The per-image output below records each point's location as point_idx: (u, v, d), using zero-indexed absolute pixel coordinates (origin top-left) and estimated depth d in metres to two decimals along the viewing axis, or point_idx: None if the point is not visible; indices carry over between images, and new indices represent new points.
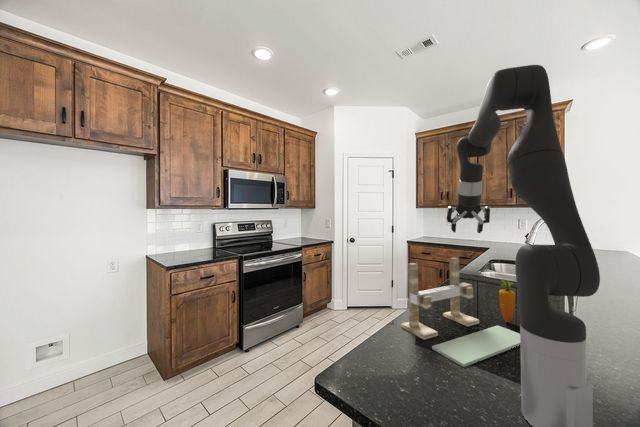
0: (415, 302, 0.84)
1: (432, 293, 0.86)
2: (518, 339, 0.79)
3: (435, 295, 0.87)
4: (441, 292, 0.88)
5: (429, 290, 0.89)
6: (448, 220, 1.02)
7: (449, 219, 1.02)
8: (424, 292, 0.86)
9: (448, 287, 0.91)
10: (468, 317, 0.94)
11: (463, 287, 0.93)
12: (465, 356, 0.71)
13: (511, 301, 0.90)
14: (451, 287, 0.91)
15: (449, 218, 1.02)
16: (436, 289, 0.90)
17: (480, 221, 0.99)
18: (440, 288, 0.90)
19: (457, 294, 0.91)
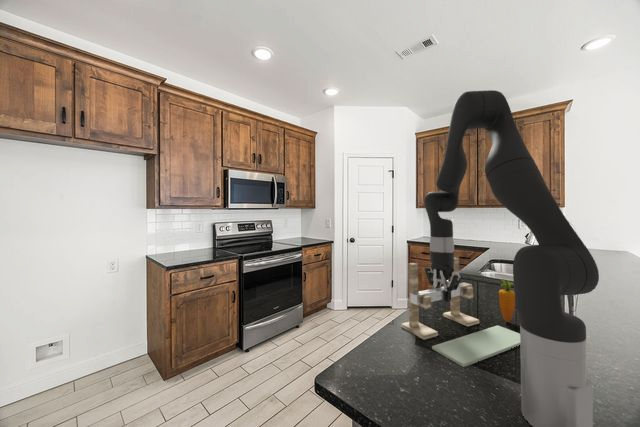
0: (415, 302, 0.84)
1: (432, 293, 0.86)
2: (518, 339, 0.79)
3: (435, 295, 0.87)
4: (441, 292, 0.88)
5: (429, 290, 0.89)
6: (429, 282, 0.94)
7: (430, 281, 0.93)
8: (424, 292, 0.86)
9: None
10: (468, 317, 0.94)
11: (463, 287, 0.93)
12: (465, 356, 0.71)
13: (511, 301, 0.90)
14: None
15: (429, 279, 0.94)
16: (436, 289, 0.90)
17: (444, 287, 0.88)
18: (440, 288, 0.90)
19: (457, 294, 0.91)
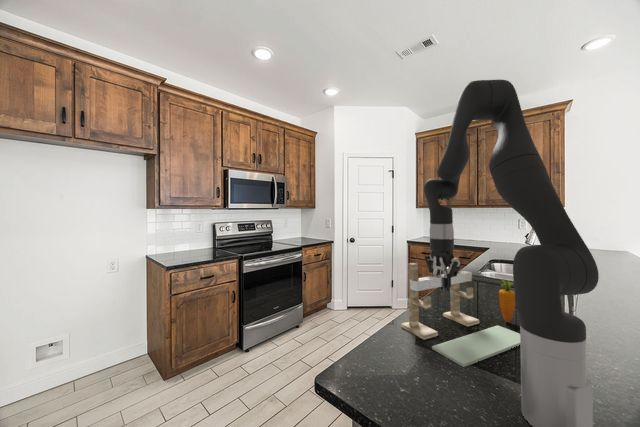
0: (415, 288, 0.84)
1: (432, 280, 0.86)
2: (518, 339, 0.79)
3: (435, 281, 0.87)
4: (441, 279, 0.88)
5: (429, 277, 0.89)
6: (429, 270, 0.94)
7: (430, 269, 0.93)
8: (423, 279, 0.86)
9: None
10: (468, 317, 0.94)
11: (463, 275, 0.92)
12: (465, 356, 0.71)
13: (511, 301, 0.90)
14: None
15: (429, 267, 0.94)
16: (436, 276, 0.89)
17: None
18: (440, 275, 0.90)
19: (457, 281, 0.91)
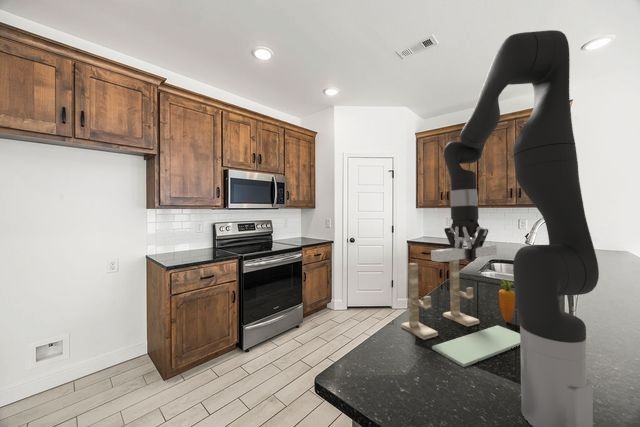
0: (437, 259, 0.76)
1: (456, 250, 0.78)
2: (518, 339, 0.79)
3: (458, 253, 0.78)
4: (465, 250, 0.80)
5: (451, 248, 0.80)
6: (450, 243, 0.85)
7: (451, 241, 0.85)
8: (446, 250, 0.78)
9: None
10: (468, 317, 0.94)
11: (487, 247, 0.84)
12: (465, 356, 0.71)
13: (511, 301, 0.90)
14: None
15: (450, 240, 0.85)
16: (459, 248, 0.81)
17: None
18: (463, 247, 0.82)
19: (481, 254, 0.83)
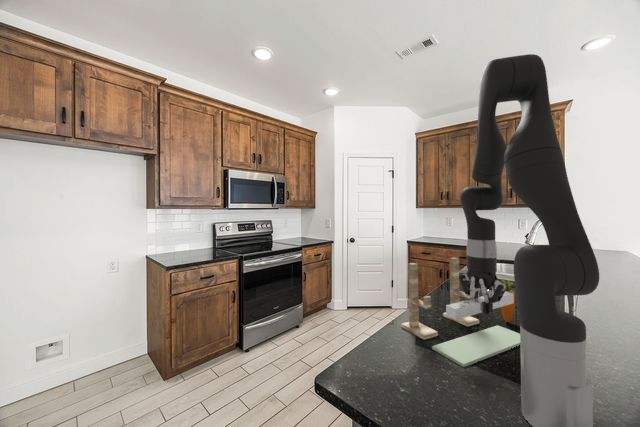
0: (453, 316, 0.72)
1: (472, 305, 0.74)
2: (518, 339, 0.79)
3: (475, 307, 0.74)
4: (481, 303, 0.76)
5: (467, 301, 0.76)
6: (465, 291, 0.81)
7: (466, 290, 0.81)
8: (462, 305, 0.74)
9: None
10: (468, 317, 0.94)
11: (504, 297, 0.80)
12: (465, 356, 0.71)
13: None
14: None
15: (465, 288, 0.81)
16: (475, 300, 0.77)
17: (484, 298, 0.76)
18: (479, 299, 0.78)
19: (498, 305, 0.79)
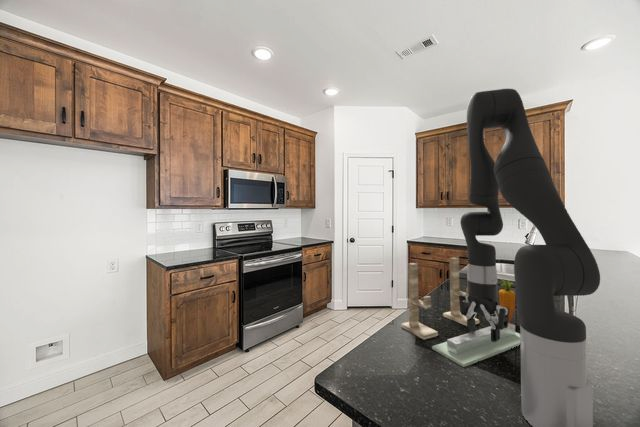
0: (454, 351, 0.72)
1: (473, 340, 0.74)
2: (518, 339, 0.79)
3: (476, 341, 0.74)
4: (483, 337, 0.75)
5: (468, 335, 0.76)
6: (461, 312, 0.83)
7: (462, 311, 0.82)
8: (463, 339, 0.73)
9: (489, 330, 0.79)
10: None
11: (506, 329, 0.80)
12: (465, 356, 0.71)
13: (511, 301, 0.90)
14: None
15: (462, 309, 0.82)
16: (476, 333, 0.77)
17: (491, 324, 0.74)
18: (480, 331, 0.78)
19: None
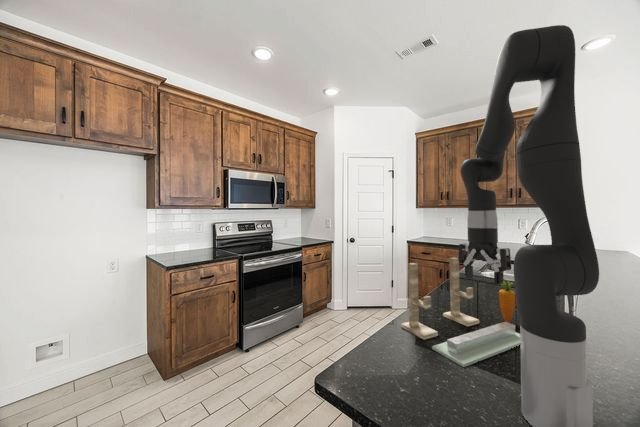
0: (454, 351, 0.72)
1: (473, 340, 0.74)
2: (518, 339, 0.79)
3: (476, 341, 0.74)
4: (483, 337, 0.75)
5: (468, 335, 0.76)
6: (459, 260, 0.83)
7: (460, 258, 0.83)
8: (463, 339, 0.73)
9: (489, 330, 0.79)
10: (468, 317, 0.94)
11: (506, 329, 0.80)
12: (465, 356, 0.71)
13: (511, 301, 0.90)
14: (492, 330, 0.79)
15: (460, 257, 0.83)
16: (476, 333, 0.77)
17: (494, 267, 0.73)
18: (480, 331, 0.78)
19: (499, 338, 0.79)
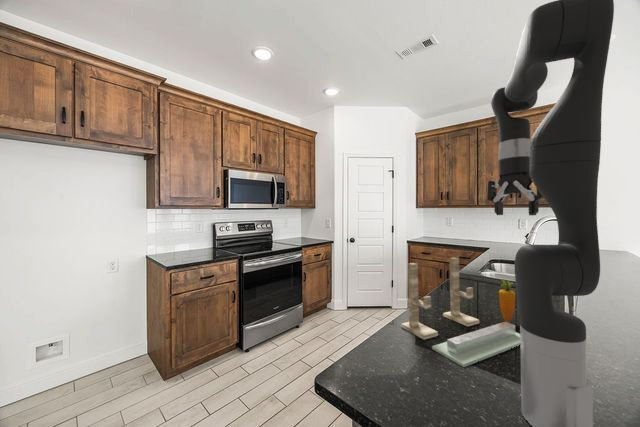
0: (454, 351, 0.72)
1: (473, 340, 0.74)
2: (518, 339, 0.79)
3: (476, 341, 0.74)
4: (483, 337, 0.75)
5: (468, 335, 0.76)
6: (488, 197, 0.80)
7: (489, 196, 0.80)
8: (463, 339, 0.73)
9: (489, 330, 0.79)
10: (468, 317, 0.94)
11: (506, 329, 0.80)
12: (465, 356, 0.71)
13: (511, 301, 0.90)
14: (492, 330, 0.79)
15: (489, 194, 0.80)
16: (476, 333, 0.77)
17: (529, 196, 0.70)
18: (480, 331, 0.78)
19: (499, 338, 0.79)
